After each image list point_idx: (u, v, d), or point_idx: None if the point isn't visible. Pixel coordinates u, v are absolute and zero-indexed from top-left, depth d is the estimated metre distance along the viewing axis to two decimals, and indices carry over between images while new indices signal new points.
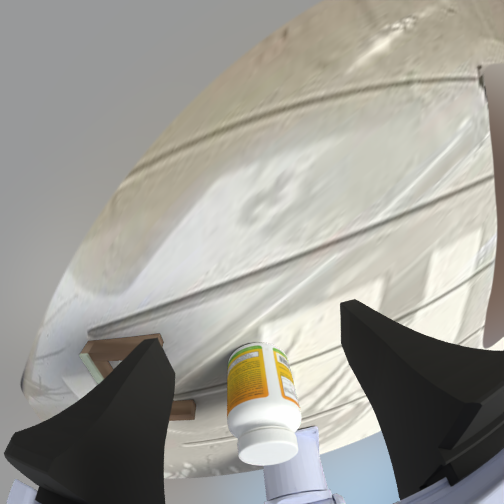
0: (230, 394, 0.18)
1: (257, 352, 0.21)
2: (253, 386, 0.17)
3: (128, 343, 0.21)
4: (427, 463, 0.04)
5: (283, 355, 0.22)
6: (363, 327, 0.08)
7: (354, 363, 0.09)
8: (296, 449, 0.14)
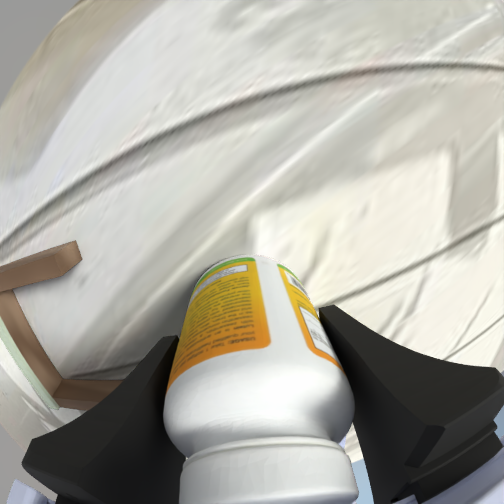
0: (177, 351, 0.08)
1: (246, 266, 0.10)
2: (229, 323, 0.07)
3: (30, 258, 0.10)
4: (396, 478, 0.04)
5: (298, 281, 0.11)
6: (337, 334, 0.08)
7: None
8: (354, 499, 0.04)
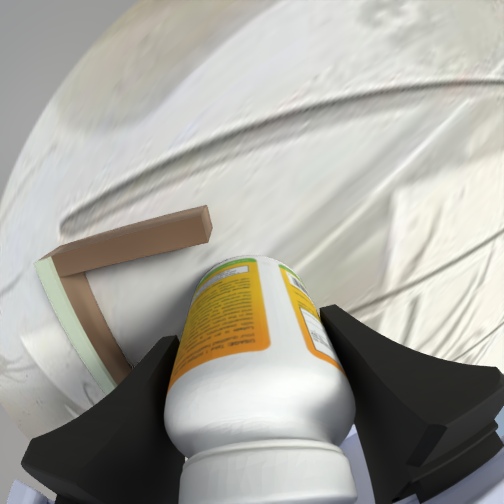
0: (178, 352, 0.08)
1: (247, 267, 0.10)
2: (229, 325, 0.07)
3: (137, 226, 0.10)
4: (397, 477, 0.04)
5: (300, 281, 0.11)
6: (338, 334, 0.08)
7: None
8: (353, 501, 0.04)
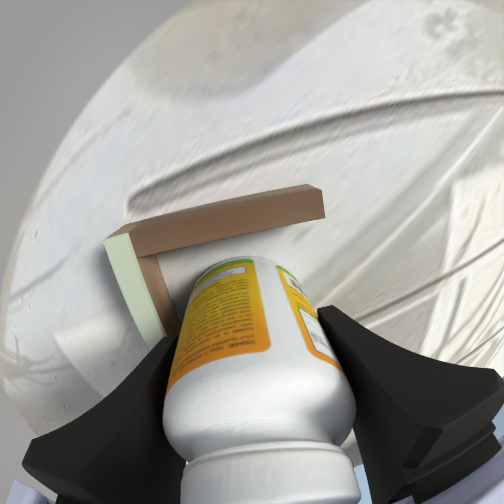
0: (175, 354, 0.08)
1: (244, 268, 0.10)
2: (228, 327, 0.07)
3: (240, 200, 0.10)
4: (393, 479, 0.04)
5: (297, 282, 0.11)
6: (335, 335, 0.08)
7: None
8: (356, 502, 0.03)
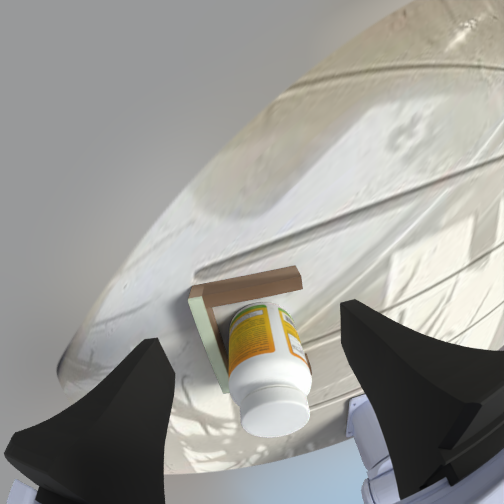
0: (232, 354, 0.17)
1: (262, 311, 0.20)
2: (258, 342, 0.16)
3: (259, 278, 0.20)
4: (427, 463, 0.04)
5: (289, 316, 0.21)
6: (362, 327, 0.08)
7: (354, 363, 0.09)
8: (308, 414, 0.13)
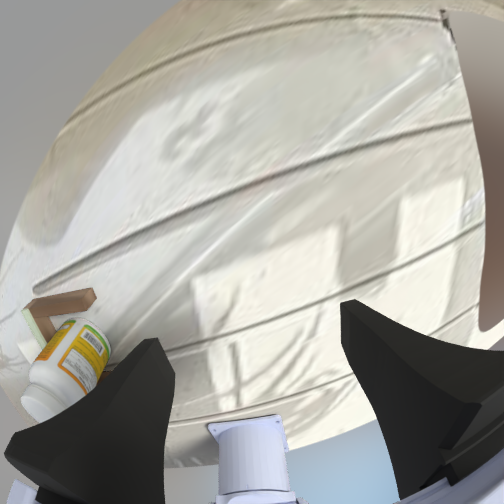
0: None
1: (69, 325, 0.18)
2: (45, 351, 0.15)
3: (62, 297, 0.18)
4: (427, 463, 0.04)
5: (95, 333, 0.19)
6: (362, 327, 0.08)
7: (354, 363, 0.09)
8: None
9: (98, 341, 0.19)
